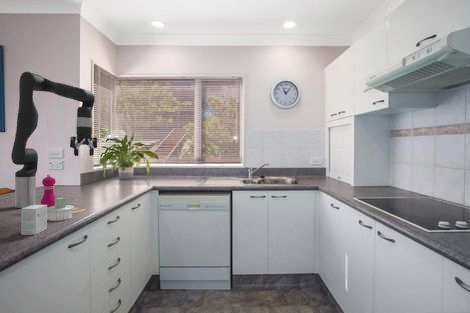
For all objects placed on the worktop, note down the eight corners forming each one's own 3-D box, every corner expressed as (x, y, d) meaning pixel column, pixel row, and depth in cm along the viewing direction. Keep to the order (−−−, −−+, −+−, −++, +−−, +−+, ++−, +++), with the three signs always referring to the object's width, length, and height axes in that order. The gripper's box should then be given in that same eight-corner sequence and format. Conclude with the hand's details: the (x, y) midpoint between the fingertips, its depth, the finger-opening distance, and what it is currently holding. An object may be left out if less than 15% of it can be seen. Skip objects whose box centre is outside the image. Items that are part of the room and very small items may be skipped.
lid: (40, 210, 129) (40, 198, 129) (64, 205, 139) (64, 195, 139) (54, 213, 124) (54, 201, 124) (79, 208, 134) (79, 197, 134)
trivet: (51, 213, 143) (51, 211, 143) (73, 209, 154) (73, 207, 154) (65, 216, 138) (65, 214, 138) (87, 211, 148) (87, 210, 148)
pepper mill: (48, 213, 144) (48, 175, 143) (37, 212, 145) (37, 174, 144) (59, 210, 151) (60, 173, 150) (48, 209, 152) (49, 173, 151)
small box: (33, 229, 116) (33, 204, 116) (47, 229, 117) (47, 204, 117) (20, 235, 108) (20, 208, 108) (35, 235, 109) (35, 208, 109)
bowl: (42, 220, 129) (42, 210, 129) (64, 216, 138) (64, 206, 138) (55, 223, 125) (55, 212, 125) (76, 219, 134) (76, 208, 134)
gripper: (91, 127, 158) (91, 155, 159) (67, 125, 146) (66, 155, 146) (100, 127, 155) (100, 156, 155) (76, 125, 142) (75, 156, 143)
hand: (84, 155), depth 151 cm, fingers open, 8 cm apart
